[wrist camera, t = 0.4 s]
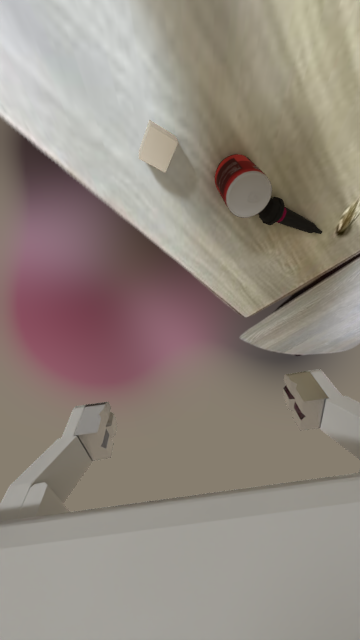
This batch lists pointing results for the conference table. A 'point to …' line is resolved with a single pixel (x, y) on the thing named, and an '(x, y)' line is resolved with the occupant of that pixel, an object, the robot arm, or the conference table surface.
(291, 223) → the microphone
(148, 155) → the cream cube
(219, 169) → the canned food
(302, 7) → the conference table surface
